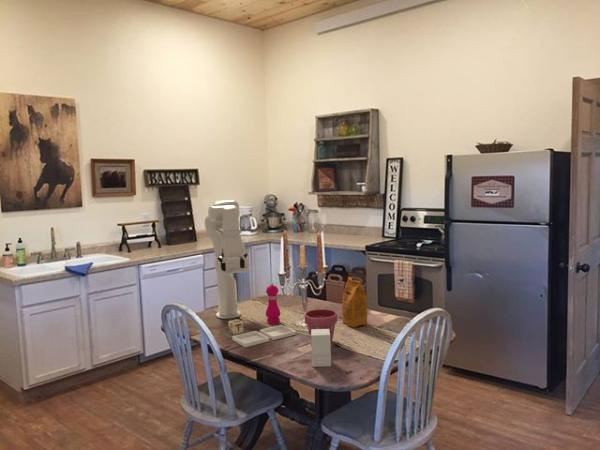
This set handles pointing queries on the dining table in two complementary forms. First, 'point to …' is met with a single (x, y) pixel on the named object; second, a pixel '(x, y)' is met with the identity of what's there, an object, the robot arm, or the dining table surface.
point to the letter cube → (235, 326)
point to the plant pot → (321, 320)
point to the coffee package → (354, 304)
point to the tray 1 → (250, 338)
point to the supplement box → (320, 347)
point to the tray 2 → (277, 332)
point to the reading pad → (234, 334)
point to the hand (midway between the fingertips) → (233, 269)
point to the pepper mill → (272, 305)
